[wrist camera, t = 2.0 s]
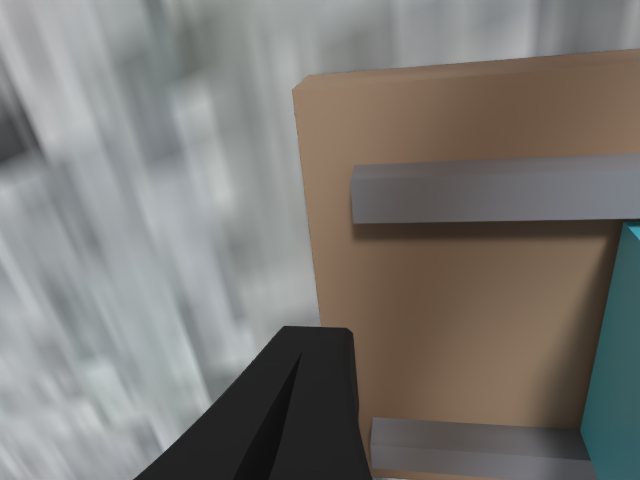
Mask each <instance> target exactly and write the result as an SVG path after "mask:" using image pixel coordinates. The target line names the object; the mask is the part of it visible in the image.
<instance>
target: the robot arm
mask: <svg viewBox="0 0 640 480" xmlns="http://www.w3.org/2000/svg"><path fill="white" fill-rule="evenodd" d="M358 420H359V395H358V384H357V372H356V361H355V349H354V338H353V332H351V331H350V330H349V329H348V328H342V327H303V326H283V327H282V328H281V329H280V330H279V331H278V332H277V334H276V335H275V336H274V337H273V338H272V339H271V340H270V342H269V343H268V344H267V345H266V346H265V347H264V349H263V350H262V351H261V352H260V353H259V354H258V355H257V357H256V358H255V359H254V360H253V361H252V362H251V363H250V365H249V366H248V367H247V368H246V369H245V370H244V371H243V372H242V374H241V375H240V376H239V377H238V378H237V379H236V380H235V381H234V382H233V383H232V384H231V386H230V387H229V388H228V389H227V390H226V391H225V392H224V393H223V394H222V395H221V396H220V397H219V398H218V400H217V401H216V402H215V403H214V404H213V405H212V406H211V407H210V408H209V409H208V410H207V411H206V412H205V413H204V414H203V415H202V416H201V417H200V418H199V419H198V420H197V421H196V422H195V423H194V424H193V425H192V426H191V427H190V428H189V429H188V430H187V431H186V432H185V433H184V434H183V435H182V436H181V437H180V438H179V439H178V440H177V441H176V442H174V443H173V444H172V445H171V446H170V447H169V448H168V449H167V450H166V451H165V452H164V453H163V454H162V455H161V456H159V457H158V458H157V459H156V460H155V461H154V462H153V463H152V464H151V465H150V466H148V467H147V468H146V469H145V470H144V471H143V472H142V473H140V474H139V475H138V476H137V477H136V478H135V479H133V480H372V477H371V473H370V469H369V466H368V462H367V458H366V454H365V450H364V446H363V442H362V438H361V433H360V429H359V424H358Z"/></svg>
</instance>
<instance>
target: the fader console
mask: <svg viewBox="0 0 640 480" xmlns="http://www.w3.org/2000/svg"><path fill="white" fill-rule="evenodd" d="M292 94H293V102H294V110H295V118H296V126H297V134H298V142H299V150H300V159H301V167H302V175H303V183H304V191H305V199H306V207H307V215H308V223H309V231H310V239H311V247H312V255H313V263H314V271H315V280H316V288H317V296H318V304H319V312H320V320H321V327H342V328H348V329H349V330H350V331H351V332H353V338H354V349H355V361H356V372H357V384H358V395H359V420H358V424H359V429H360V433H361V438H362V442H363V446H364V450H365V454H366V458H367V462H368V466H369V469H370V473H371V476H372V477H384V478H396V479H407V480H598V478H597V475H596V472H595V470H594V467H593V464H592V462H591V459H590V456H589V454H588V451H587V448H586V446H585V443H584V440H583V438H582V435H581V432H580V428H581V423H582V419H583V414H584V409H585V404H586V399H587V395H588V390H589V385H590V380H591V375H592V371H593V366H594V361H595V356H596V352H597V347H598V342H599V337H600V332H601V328H602V323H603V318H604V313H605V308H606V304H607V299H608V294H609V289H610V284H611V280H612V275H613V270H614V265H615V261H616V256H617V251H618V246H619V241H620V237H621V232H622V227H623V222H640V49H630V50H618V51H605V52H593V53H581V54H568V55H556V56H544V57H531V58H519V59H506V60H494V61H482V62H469V63H457V64H445V65H432V66H420V67H408V68H395V69H383V70H371V71H358V72H346V73H333V74H321V75H309V76H307V77H306V78H305V79H304V80H303V81H302V82H300V83H299V84H298V85H297V86H296V87H295V88H293V89H292Z"/></svg>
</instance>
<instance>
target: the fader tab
mask: <svg viewBox="0 0 640 480" xmlns="http://www.w3.org/2000/svg"><path fill="white" fill-rule="evenodd" d="M580 432H581V435H582V438H583V440H584V443H585V446H586V448H587V451H588V454H589V456H590V459H591V462H592V464H593V467H594V470H595V472H596V475H597V478H598V480H640V222H623V227H622V232H621V237H620V241H619V246H618V251H617V256H616V261H615V265H614V270H613V275H612V280H611V284H610V289H609V294H608V299H607V304H606V308H605V313H604V318H603V323H602V328H601V332H600V337H599V342H598V347H597V352H596V356H595V361H594V366H593V371H592V375H591V380H590V385H589V390H588V395H587V399H586V404H585V409H584V414H583V419H582V423H581V428H580Z"/></svg>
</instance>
